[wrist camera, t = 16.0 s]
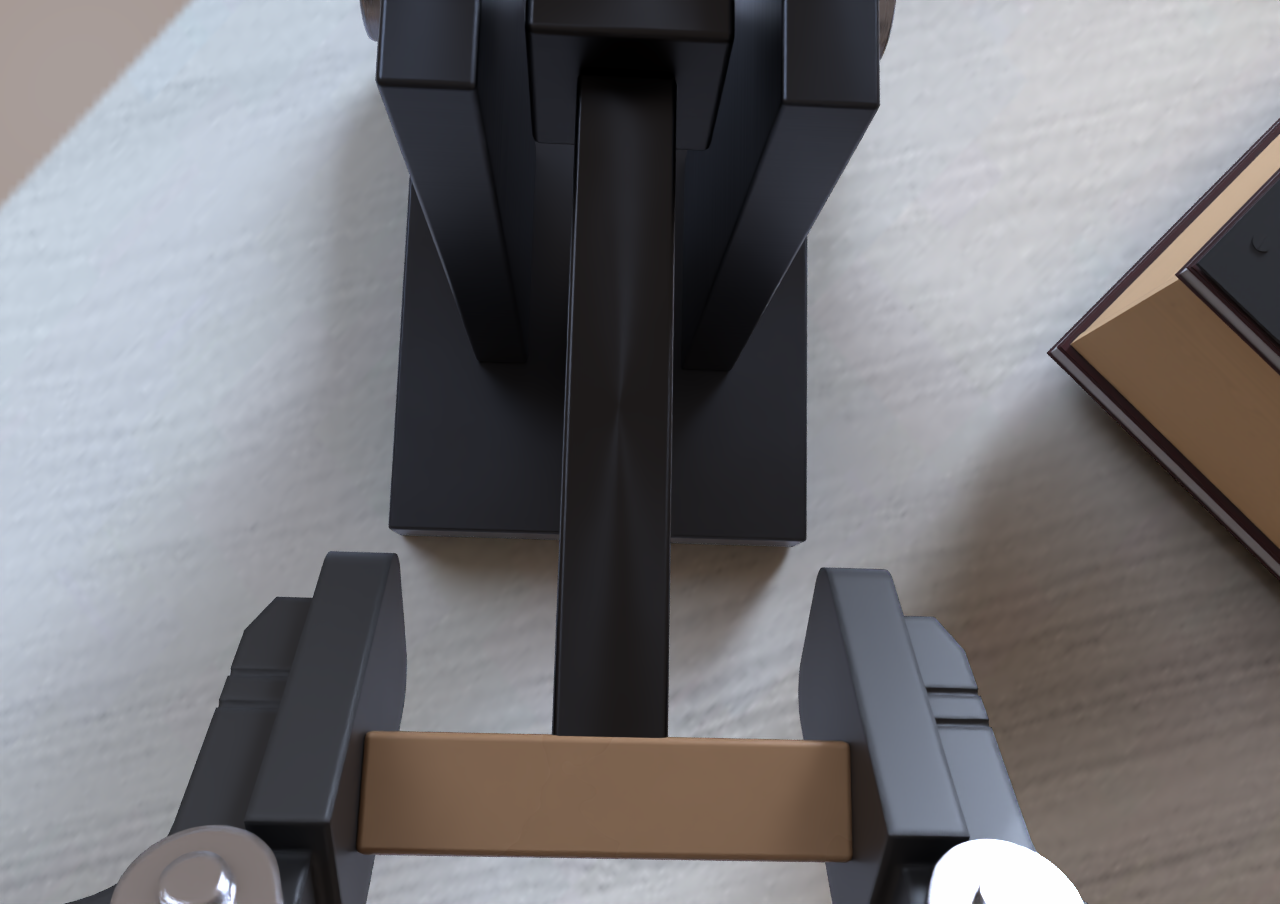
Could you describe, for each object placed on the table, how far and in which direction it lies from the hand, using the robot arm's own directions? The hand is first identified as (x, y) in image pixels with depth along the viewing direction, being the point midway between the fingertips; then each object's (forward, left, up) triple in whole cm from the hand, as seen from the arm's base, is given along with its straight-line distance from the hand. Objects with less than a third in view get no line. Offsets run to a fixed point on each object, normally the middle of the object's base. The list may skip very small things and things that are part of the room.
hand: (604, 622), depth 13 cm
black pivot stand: (0, +7, -10) cm, 13 cm away
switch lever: (0, +3, 0) cm, 3 cm away
